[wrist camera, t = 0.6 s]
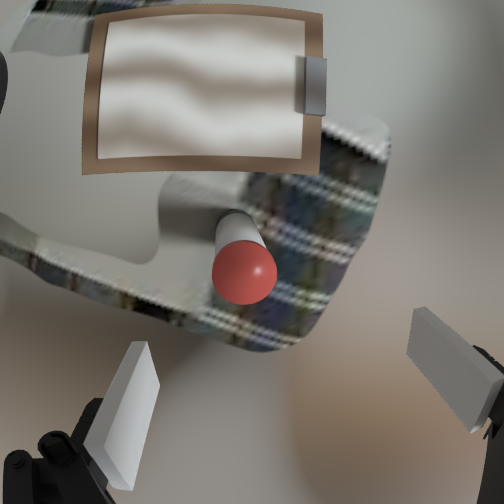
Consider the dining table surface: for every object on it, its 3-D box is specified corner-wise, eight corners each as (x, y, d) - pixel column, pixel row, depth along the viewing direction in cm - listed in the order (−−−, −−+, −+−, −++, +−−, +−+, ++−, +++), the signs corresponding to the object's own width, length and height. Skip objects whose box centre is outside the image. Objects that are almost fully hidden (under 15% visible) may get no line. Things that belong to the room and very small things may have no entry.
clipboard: (99, 20, 24) (91, 11, 21) (318, 19, 26) (325, 9, 24) (87, 173, 29) (77, 175, 27) (314, 174, 32) (322, 176, 29)
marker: (215, 208, 32) (211, 243, 19) (256, 209, 32) (279, 244, 20) (215, 247, 33) (212, 304, 21) (254, 248, 33) (274, 304, 21)
